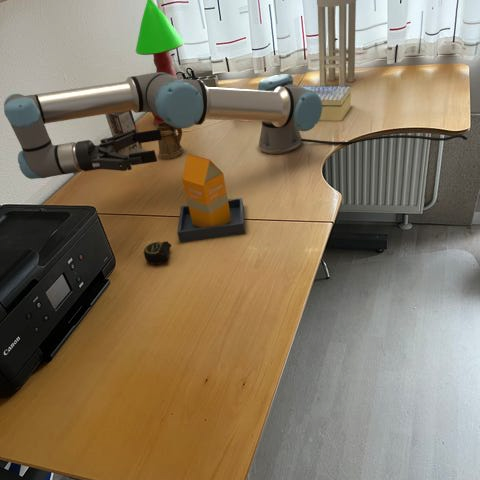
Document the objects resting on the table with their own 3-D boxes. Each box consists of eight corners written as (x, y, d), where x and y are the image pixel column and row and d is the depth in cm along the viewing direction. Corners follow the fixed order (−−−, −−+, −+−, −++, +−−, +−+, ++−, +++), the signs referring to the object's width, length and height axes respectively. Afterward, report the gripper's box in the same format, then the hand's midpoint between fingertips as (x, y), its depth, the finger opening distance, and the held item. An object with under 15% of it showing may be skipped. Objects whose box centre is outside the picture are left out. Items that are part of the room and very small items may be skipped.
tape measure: (169, 265, 128) (165, 254, 126) (144, 267, 129) (140, 256, 127) (172, 250, 133) (169, 239, 131) (148, 253, 134) (145, 241, 132)
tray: (243, 207, 145) (242, 197, 143) (245, 233, 134) (243, 223, 132) (183, 215, 147) (180, 206, 144) (179, 242, 136) (177, 232, 134)
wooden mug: (186, 160, 176) (175, 110, 164) (155, 158, 181) (142, 109, 169) (197, 149, 182) (187, 100, 170) (166, 148, 187) (154, 100, 175)
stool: (346, 91, 205) (347, -7, 181) (313, 89, 212) (310, -5, 189) (360, 78, 213) (363, -16, 190) (328, 77, 221) (327, -14, 197)
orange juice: (213, 232, 136) (199, 165, 122) (192, 224, 141) (176, 159, 127) (232, 219, 139) (220, 153, 126) (210, 211, 144) (197, 147, 131)
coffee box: (144, 151, 188) (131, 109, 177) (131, 158, 185) (118, 115, 174) (130, 147, 193) (117, 106, 182) (117, 153, 190) (103, 112, 179)
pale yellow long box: (351, 106, 192) (351, 78, 185) (340, 121, 182) (340, 92, 175) (248, 105, 209) (245, 79, 202) (234, 118, 200) (230, 92, 193)
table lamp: (187, 127, 200) (159, 0, 170) (146, 127, 207) (112, 5, 176) (205, 109, 213) (183, -12, 183) (166, 109, 220) (138, -7, 189)
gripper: (94, 150, 138) (166, 139, 136) (74, 192, 120) (157, 180, 118) (84, 124, 133) (159, 112, 131) (62, 164, 115) (148, 150, 113)
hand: (158, 144), depth 125 cm, fingers open, 13 cm apart
